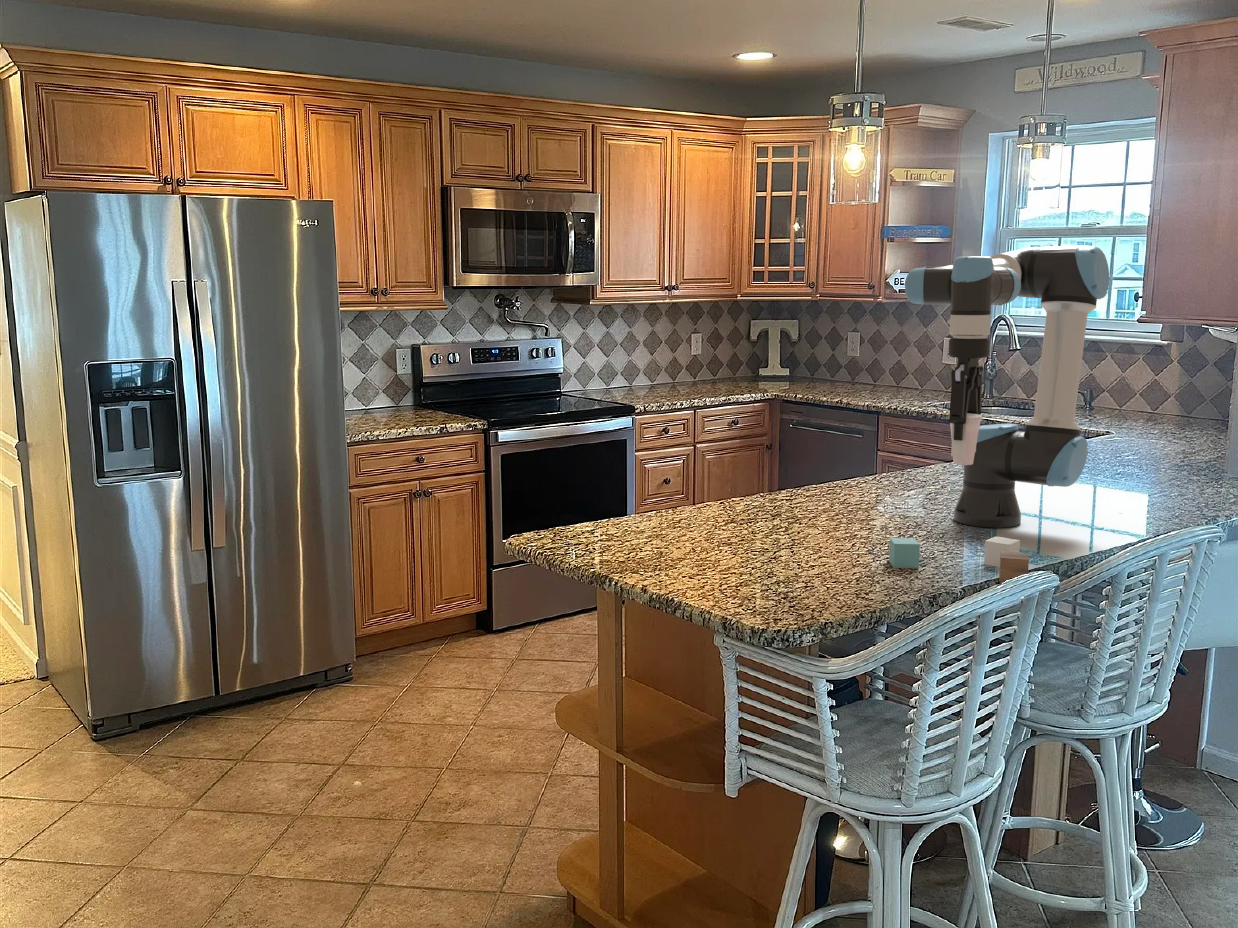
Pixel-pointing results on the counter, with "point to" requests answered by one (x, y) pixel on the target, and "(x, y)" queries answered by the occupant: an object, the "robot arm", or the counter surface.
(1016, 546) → the cube grey
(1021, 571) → the cube walnut
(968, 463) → the smoothie
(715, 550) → the counter surface
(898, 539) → the cube teal
